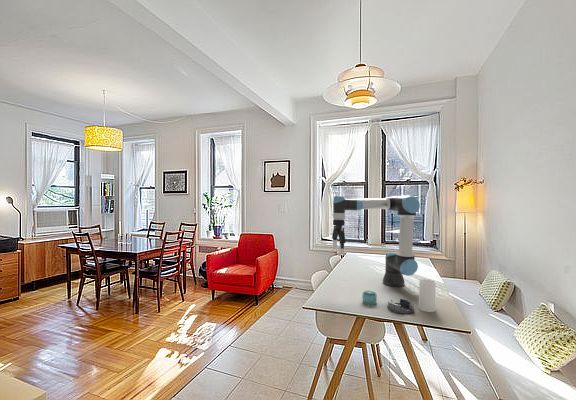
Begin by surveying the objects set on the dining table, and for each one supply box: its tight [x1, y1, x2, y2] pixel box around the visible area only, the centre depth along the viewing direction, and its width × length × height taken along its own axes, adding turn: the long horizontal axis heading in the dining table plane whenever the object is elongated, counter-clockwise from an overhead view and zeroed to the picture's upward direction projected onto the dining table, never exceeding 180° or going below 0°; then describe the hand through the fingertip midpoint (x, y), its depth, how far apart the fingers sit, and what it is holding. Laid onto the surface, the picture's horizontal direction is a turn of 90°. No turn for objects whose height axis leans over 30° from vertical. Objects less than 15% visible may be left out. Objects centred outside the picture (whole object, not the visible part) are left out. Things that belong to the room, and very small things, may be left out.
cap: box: [362, 290, 378, 306], centre depth 171 cm, size 8×8×6 cm
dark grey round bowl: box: [387, 297, 415, 315], centre depth 162 cm, size 14×14×4 cm
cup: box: [418, 278, 437, 313], centre depth 162 cm, size 8×8×16 cm
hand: (338, 251), depth 188 cm, fingers open, 13 cm apart
